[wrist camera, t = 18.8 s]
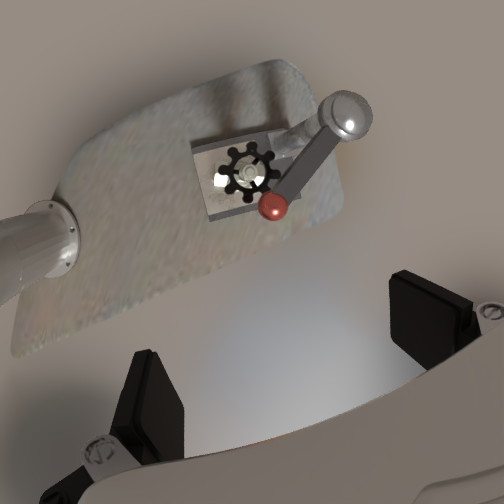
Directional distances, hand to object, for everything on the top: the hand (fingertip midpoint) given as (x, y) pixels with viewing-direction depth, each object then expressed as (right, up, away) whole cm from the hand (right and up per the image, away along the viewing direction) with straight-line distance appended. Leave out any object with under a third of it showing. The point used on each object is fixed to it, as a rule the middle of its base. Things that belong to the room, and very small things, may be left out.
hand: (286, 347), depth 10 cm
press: (-3, +15, +32) cm, 35 cm away
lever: (+4, +12, +13) cm, 18 cm away
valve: (-4, +14, +31) cm, 34 cm away
